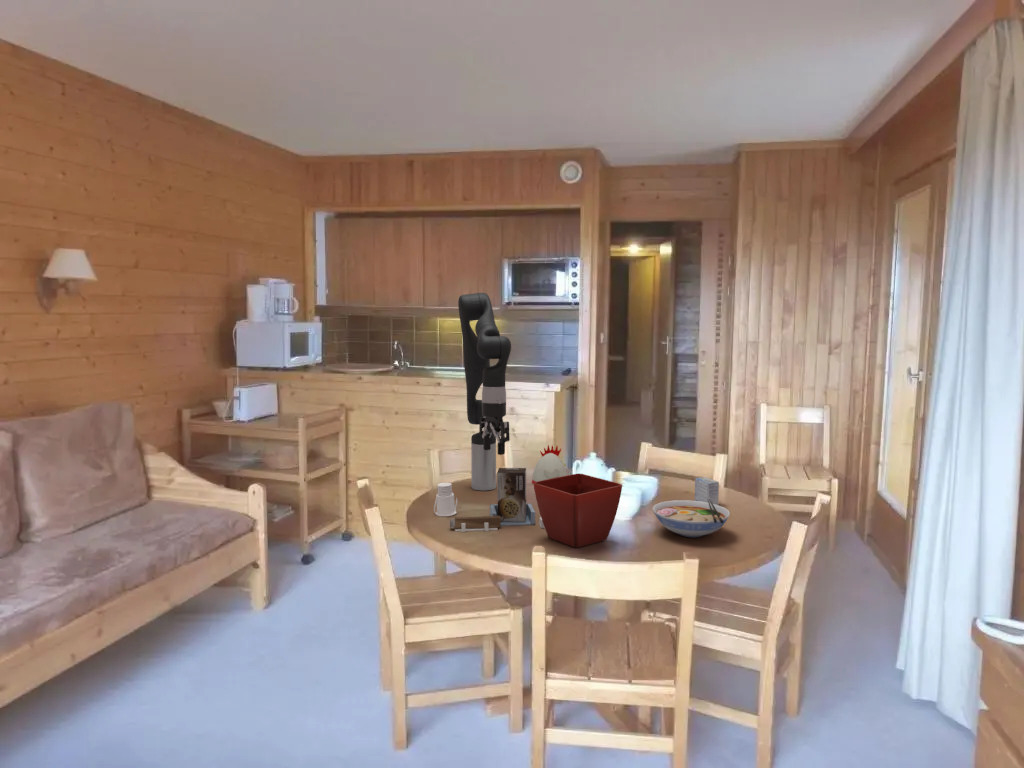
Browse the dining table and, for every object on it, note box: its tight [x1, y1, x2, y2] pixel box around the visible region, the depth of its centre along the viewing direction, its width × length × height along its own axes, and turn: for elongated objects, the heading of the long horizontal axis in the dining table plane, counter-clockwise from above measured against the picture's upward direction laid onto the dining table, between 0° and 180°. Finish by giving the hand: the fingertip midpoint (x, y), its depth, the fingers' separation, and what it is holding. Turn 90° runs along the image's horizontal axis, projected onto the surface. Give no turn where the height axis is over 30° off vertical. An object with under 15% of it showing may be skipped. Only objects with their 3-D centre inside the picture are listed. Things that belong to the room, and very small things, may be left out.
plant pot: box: [533, 473, 623, 548], centre depth 216 cm, size 19×19×17 cm
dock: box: [489, 502, 536, 527], centre depth 234 cm, size 10×13×4 cm
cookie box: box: [496, 467, 527, 522], centre depth 234 cm, size 9×6×16 cm
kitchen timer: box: [531, 444, 568, 486], centre depth 282 cm, size 14×14×15 cm
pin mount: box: [454, 516, 545, 533], centre depth 227 cm, size 6×28×2 cm, turn 96°
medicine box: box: [694, 476, 720, 505], centre depth 254 cm, size 8×4×9 cm, turn 22°
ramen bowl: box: [652, 499, 731, 538], centre depth 221 cm, size 25×23×8 cm
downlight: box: [433, 482, 458, 517], centre depth 242 cm, size 8×7×10 cm
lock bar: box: [449, 515, 502, 530], centre depth 226 cm, size 3×16×3 cm, turn 96°
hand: (494, 452), depth 229 cm, fingers open, 8 cm apart
